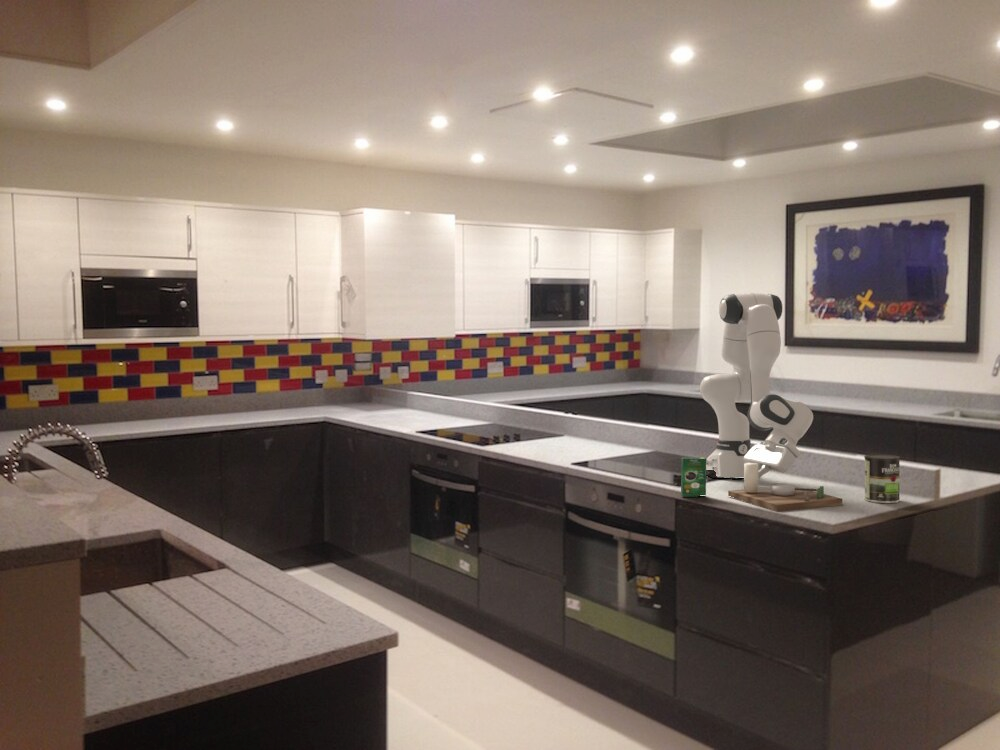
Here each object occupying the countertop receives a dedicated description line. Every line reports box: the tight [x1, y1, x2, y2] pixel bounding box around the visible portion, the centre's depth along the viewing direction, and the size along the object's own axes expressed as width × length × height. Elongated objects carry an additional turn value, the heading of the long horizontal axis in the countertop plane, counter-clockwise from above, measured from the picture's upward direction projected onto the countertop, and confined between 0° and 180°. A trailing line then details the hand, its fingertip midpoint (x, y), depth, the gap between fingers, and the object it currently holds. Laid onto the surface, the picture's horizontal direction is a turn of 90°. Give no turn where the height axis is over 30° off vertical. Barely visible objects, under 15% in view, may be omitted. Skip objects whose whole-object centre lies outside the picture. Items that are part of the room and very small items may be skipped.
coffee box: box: [680, 457, 707, 498], centre depth 284 cm, size 8×3×13 cm, turn 88°
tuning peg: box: [743, 463, 818, 496], centre depth 274 cm, size 22×7×9 cm, turn 66°
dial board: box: [727, 485, 843, 512], centre depth 274 cm, size 26×24×5 cm
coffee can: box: [864, 453, 901, 504], centre depth 271 cm, size 10×10×14 cm
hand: (754, 476), depth 280 cm, fingers closed
